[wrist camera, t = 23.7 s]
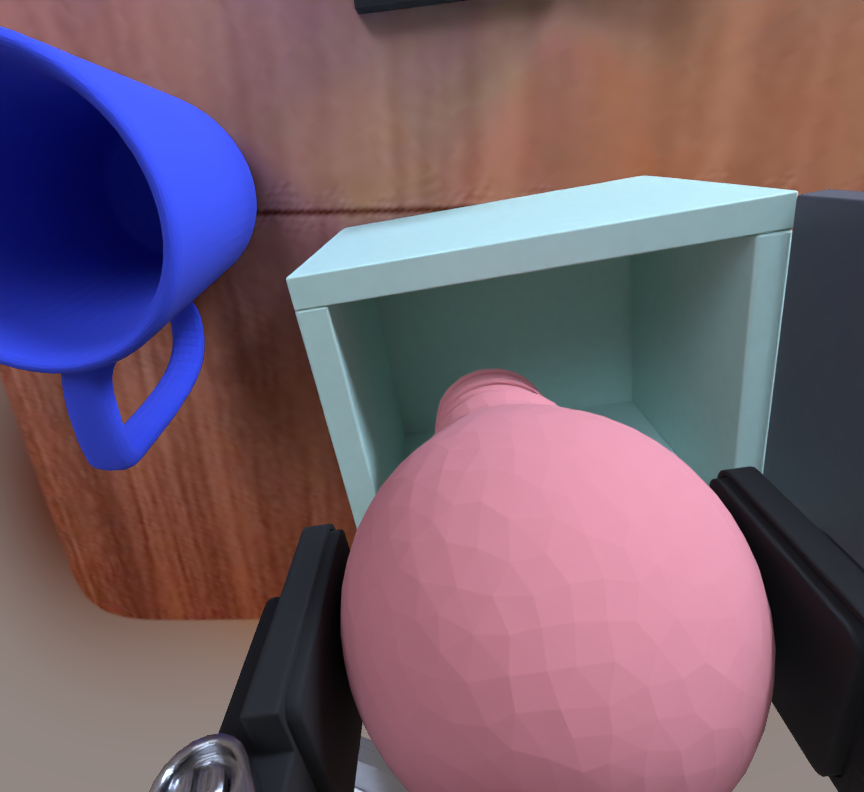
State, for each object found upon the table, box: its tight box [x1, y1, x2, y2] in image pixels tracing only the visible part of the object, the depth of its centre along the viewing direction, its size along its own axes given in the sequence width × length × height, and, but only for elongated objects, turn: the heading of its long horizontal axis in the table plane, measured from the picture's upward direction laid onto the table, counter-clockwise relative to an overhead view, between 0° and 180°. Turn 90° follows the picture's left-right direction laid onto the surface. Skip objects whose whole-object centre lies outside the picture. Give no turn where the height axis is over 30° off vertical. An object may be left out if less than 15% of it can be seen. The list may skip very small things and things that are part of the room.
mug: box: [0, 27, 257, 471], centre depth 18 cm, size 8×12×10 cm
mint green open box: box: [286, 175, 798, 529], centre depth 20 cm, size 13×11×10 cm
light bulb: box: [340, 369, 776, 792], centre depth 12 cm, size 7×7×12 cm
